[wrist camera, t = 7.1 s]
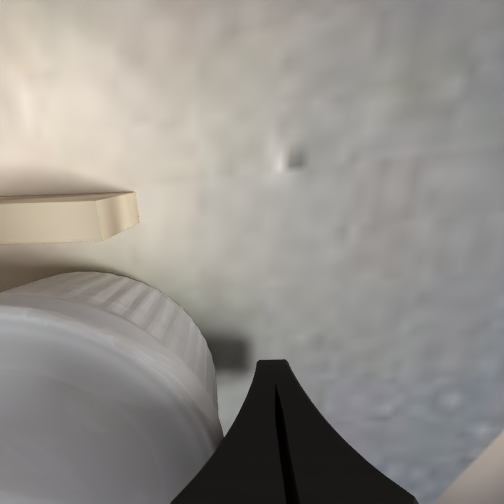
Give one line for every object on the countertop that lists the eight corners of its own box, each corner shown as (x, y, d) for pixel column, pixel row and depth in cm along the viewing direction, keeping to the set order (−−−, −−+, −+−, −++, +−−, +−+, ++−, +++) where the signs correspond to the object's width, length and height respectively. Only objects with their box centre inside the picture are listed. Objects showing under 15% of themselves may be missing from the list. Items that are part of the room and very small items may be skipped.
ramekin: (-34, 409, 14) (-190, 541, 9) (19, 201, 12) (-164, 228, 6) (180, 483, 16) (145, 634, 11) (274, 312, 13) (288, 407, 8)
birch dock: (135, 191, 11) (95, 201, 9) (176, 485, 16) (159, 556, 13) (-125, 200, 12) (-249, 211, 9) (-14, 489, 16) (-72, 560, 13)
